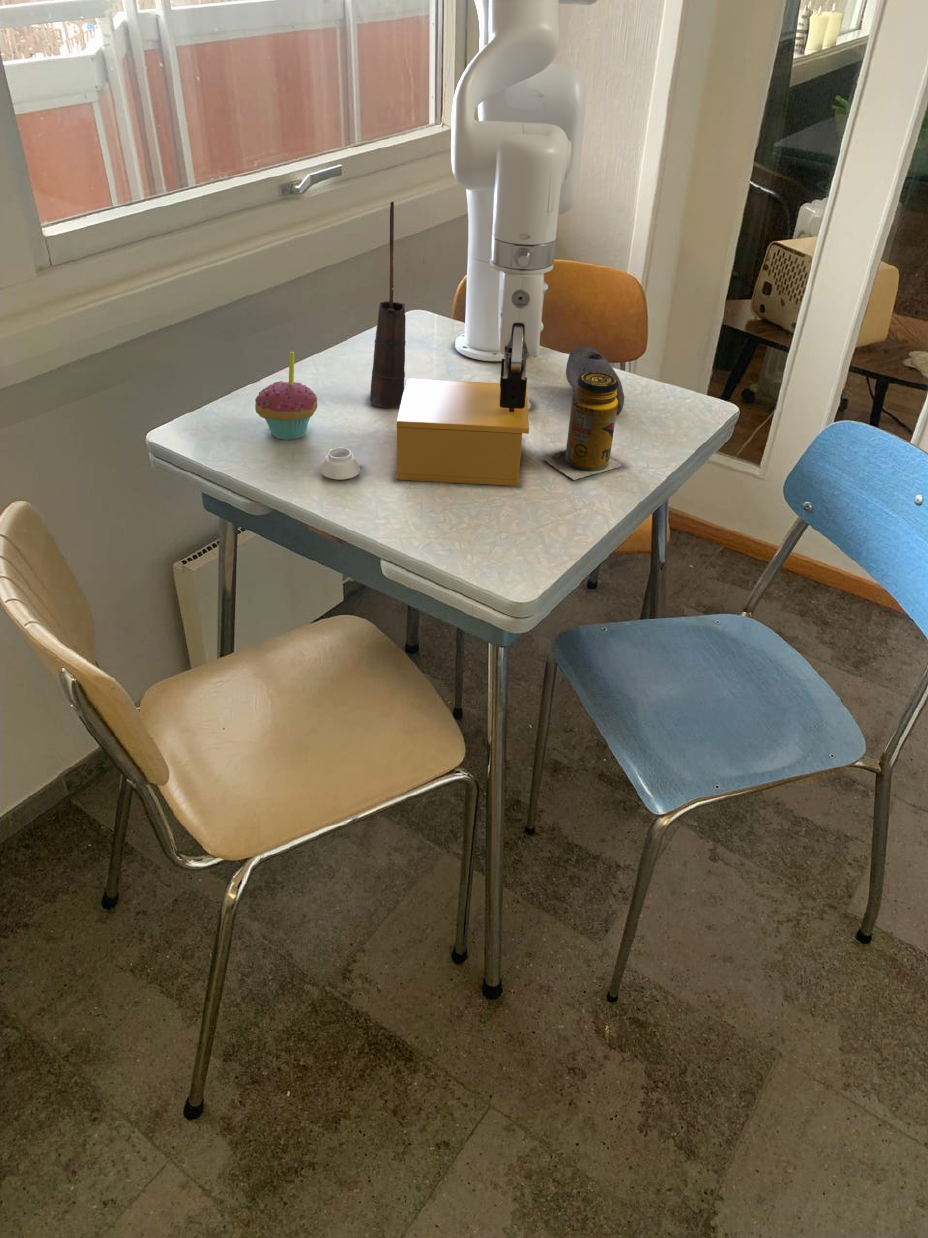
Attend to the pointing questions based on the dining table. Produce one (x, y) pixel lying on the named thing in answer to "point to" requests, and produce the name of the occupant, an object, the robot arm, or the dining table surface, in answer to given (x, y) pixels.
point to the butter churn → (389, 345)
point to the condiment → (589, 428)
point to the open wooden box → (458, 456)
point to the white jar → (340, 464)
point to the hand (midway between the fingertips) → (512, 396)
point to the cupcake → (287, 406)
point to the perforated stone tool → (591, 369)
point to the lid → (459, 407)
